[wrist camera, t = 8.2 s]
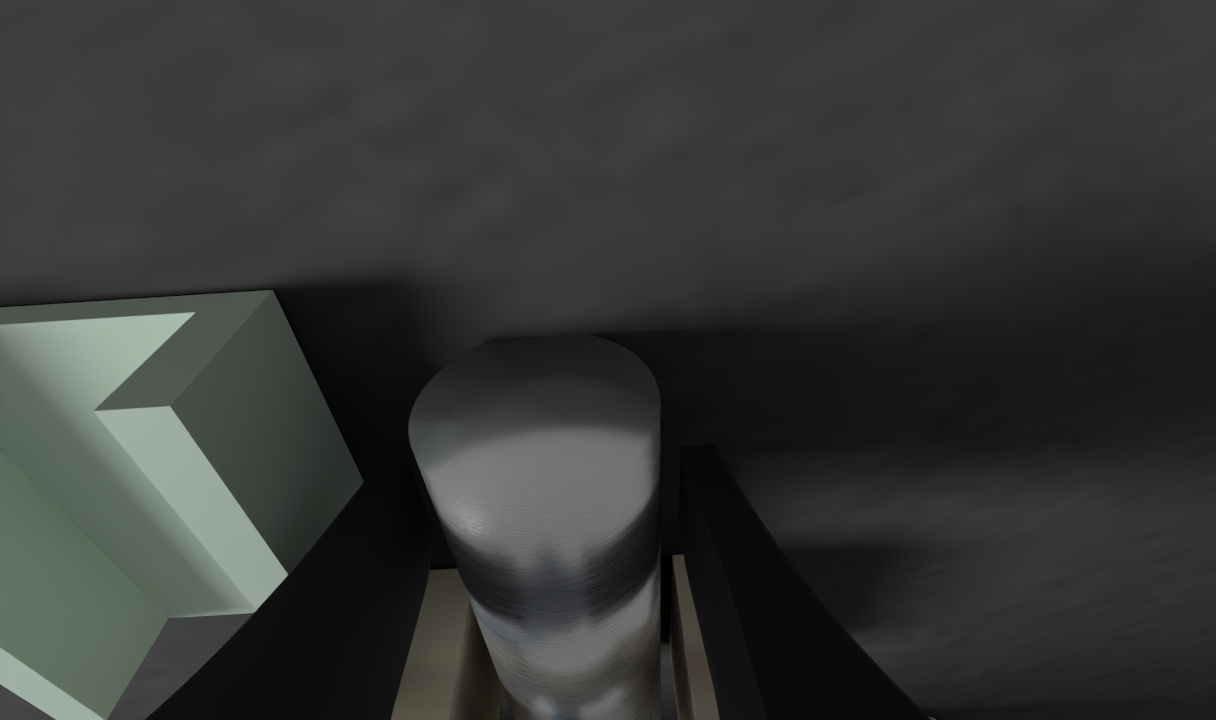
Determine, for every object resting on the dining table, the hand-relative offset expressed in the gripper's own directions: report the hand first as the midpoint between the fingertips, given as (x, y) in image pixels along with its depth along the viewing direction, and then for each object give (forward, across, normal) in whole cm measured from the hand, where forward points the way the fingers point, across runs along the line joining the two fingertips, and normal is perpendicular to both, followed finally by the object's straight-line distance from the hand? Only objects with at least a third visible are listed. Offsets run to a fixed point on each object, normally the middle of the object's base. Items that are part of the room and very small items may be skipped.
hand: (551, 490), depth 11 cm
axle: (+2, 0, +3) cm, 4 cm away
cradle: (+1, +8, 0) cm, 8 cm away
